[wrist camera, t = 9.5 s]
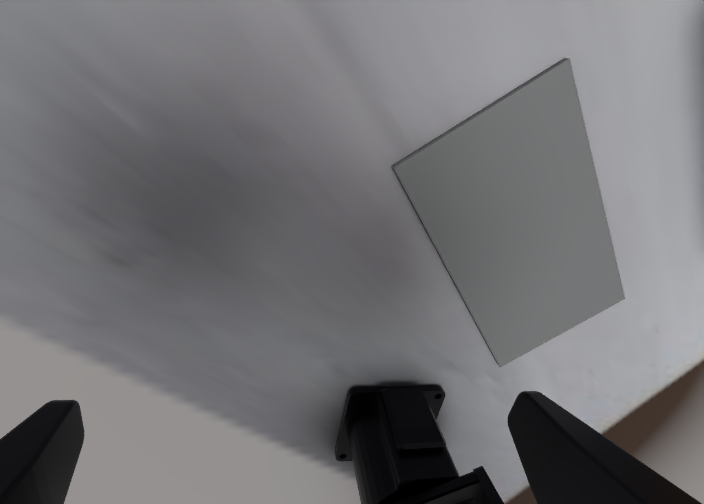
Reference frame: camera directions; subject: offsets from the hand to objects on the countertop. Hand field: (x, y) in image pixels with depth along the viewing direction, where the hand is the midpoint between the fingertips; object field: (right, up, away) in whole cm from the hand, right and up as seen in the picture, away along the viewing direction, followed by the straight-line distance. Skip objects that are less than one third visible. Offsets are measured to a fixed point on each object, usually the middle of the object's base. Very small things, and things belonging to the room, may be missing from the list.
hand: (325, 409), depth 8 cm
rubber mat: (+10, +4, +14) cm, 18 cm away
